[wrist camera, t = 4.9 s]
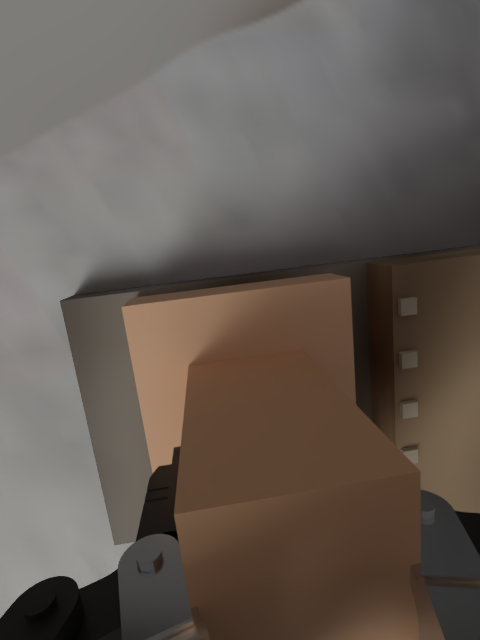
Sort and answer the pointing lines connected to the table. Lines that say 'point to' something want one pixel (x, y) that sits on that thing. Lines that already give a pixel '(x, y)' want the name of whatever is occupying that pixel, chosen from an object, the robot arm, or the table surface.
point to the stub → (276, 462)
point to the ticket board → (369, 364)
